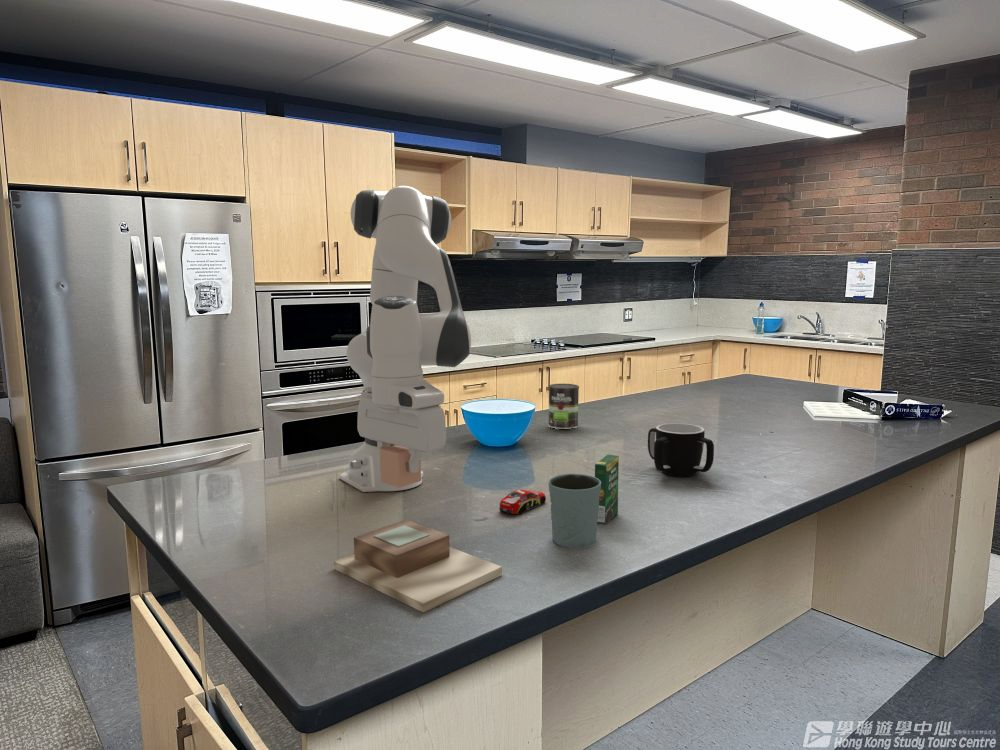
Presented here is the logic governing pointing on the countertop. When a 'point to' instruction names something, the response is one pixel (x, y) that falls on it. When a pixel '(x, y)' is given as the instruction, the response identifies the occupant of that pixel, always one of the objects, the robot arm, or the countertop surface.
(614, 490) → the coffee box
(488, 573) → the build board
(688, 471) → the mug
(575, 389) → the coffee can
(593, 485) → the grey green cup
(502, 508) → the race car
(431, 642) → the countertop surface
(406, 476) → the terracotta block
